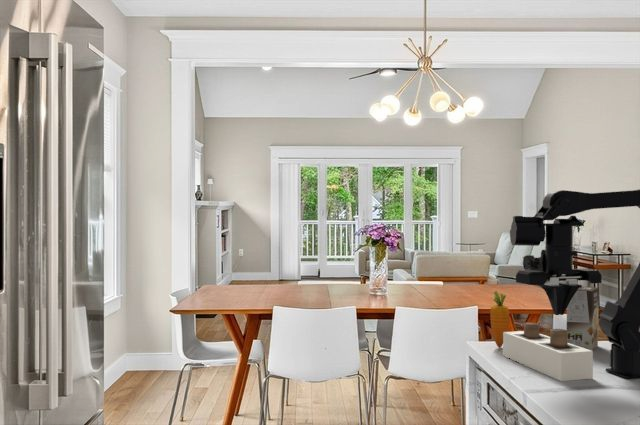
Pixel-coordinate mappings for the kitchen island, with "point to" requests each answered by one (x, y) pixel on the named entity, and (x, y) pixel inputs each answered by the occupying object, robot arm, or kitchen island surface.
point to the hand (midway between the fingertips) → (558, 314)
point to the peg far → (531, 330)
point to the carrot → (499, 319)
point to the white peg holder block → (549, 356)
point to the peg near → (558, 338)
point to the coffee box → (583, 318)
